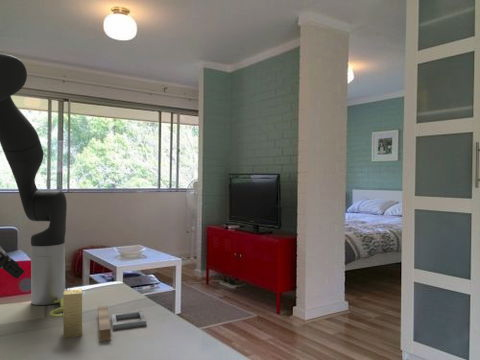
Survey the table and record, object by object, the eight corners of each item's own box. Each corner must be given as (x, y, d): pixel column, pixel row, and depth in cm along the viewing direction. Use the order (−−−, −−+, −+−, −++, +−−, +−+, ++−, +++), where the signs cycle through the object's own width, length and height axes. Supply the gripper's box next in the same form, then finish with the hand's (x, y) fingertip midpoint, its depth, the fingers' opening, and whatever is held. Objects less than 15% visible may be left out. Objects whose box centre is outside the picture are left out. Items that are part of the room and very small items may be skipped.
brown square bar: (98, 315, 109) (98, 306, 109) (107, 314, 109) (107, 305, 109) (99, 341, 92) (99, 330, 92) (110, 339, 93) (110, 328, 92)
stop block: (64, 331, 97) (64, 290, 97) (82, 329, 99) (82, 288, 99) (63, 337, 94) (63, 295, 94) (82, 335, 95) (81, 293, 95)
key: (62, 304, 120) (62, 297, 120) (81, 314, 111) (81, 306, 111) (37, 310, 114) (37, 302, 114) (54, 321, 106) (54, 313, 106)
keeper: (111, 319, 106) (111, 314, 106) (142, 315, 109) (142, 310, 109) (112, 329, 98) (112, 324, 98) (146, 325, 101) (146, 320, 101)
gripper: (-28, 211, 79) (37, 263, 85) (-31, 208, 90) (26, 254, 97) (-62, 240, 76) (8, 292, 82) (-60, 233, 87) (1, 279, 94)
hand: (18, 271), depth 90 cm, fingers open, 8 cm apart
